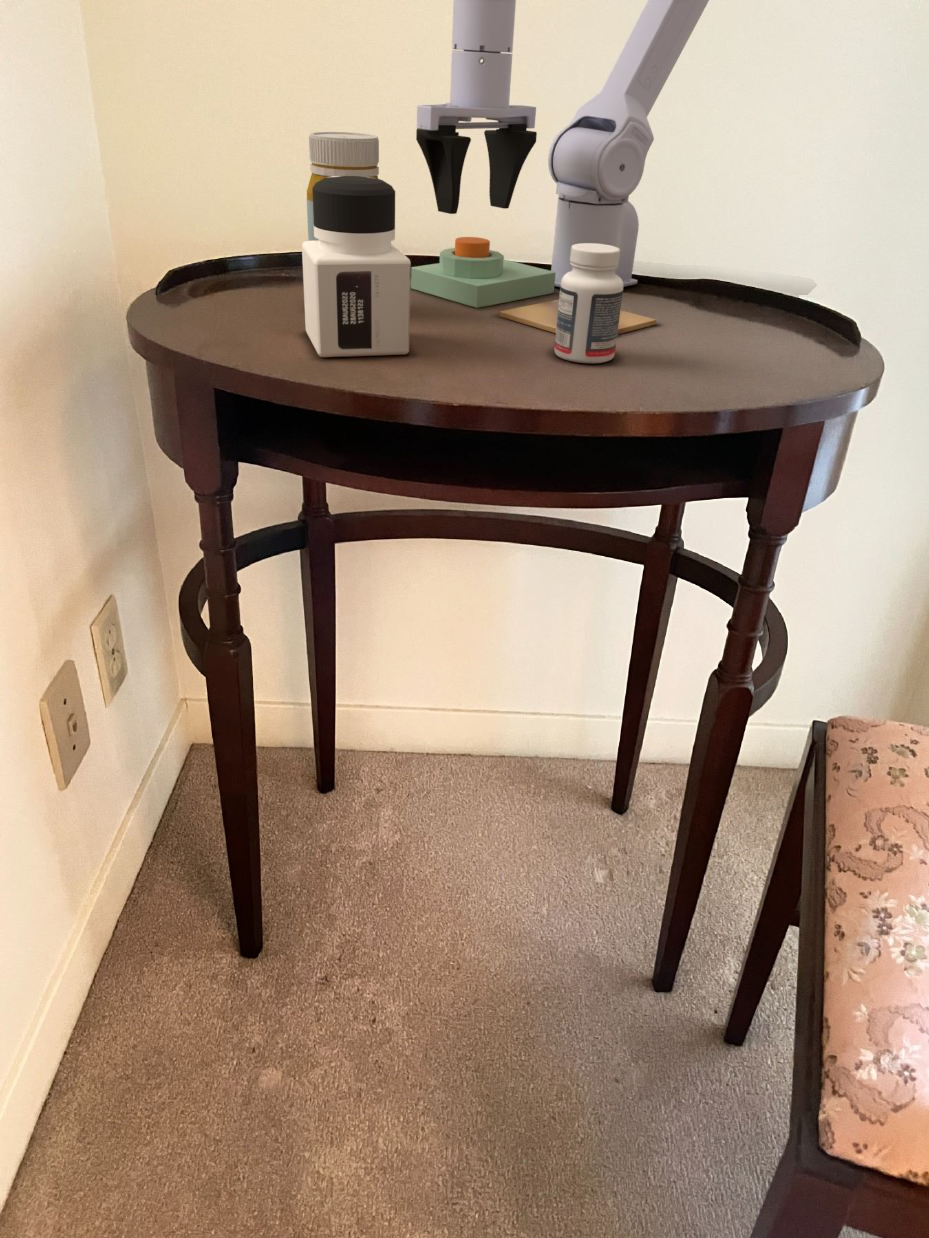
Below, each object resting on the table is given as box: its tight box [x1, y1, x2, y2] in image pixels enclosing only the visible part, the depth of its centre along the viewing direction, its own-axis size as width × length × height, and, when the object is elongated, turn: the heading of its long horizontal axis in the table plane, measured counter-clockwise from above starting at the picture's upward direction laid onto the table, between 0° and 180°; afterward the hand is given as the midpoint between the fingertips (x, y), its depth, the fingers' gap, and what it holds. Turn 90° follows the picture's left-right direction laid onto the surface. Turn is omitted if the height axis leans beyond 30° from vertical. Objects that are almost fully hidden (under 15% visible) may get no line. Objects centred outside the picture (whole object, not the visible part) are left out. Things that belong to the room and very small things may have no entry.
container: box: [301, 176, 412, 358], centre depth 74 cm, size 8×8×13 cm
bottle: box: [306, 131, 380, 241], centre depth 83 cm, size 7×7×15 cm
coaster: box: [498, 298, 657, 335], centre depth 88 cm, size 11×11×1 cm
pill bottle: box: [553, 243, 624, 364], centre depth 76 cm, size 5×5×9 cm
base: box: [410, 247, 556, 309], centre depth 96 cm, size 12×10×4 cm
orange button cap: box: [454, 236, 491, 258], centre depth 93 cm, size 4×4×2 cm
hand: (474, 210), depth 91 cm, fingers open, 7 cm apart
